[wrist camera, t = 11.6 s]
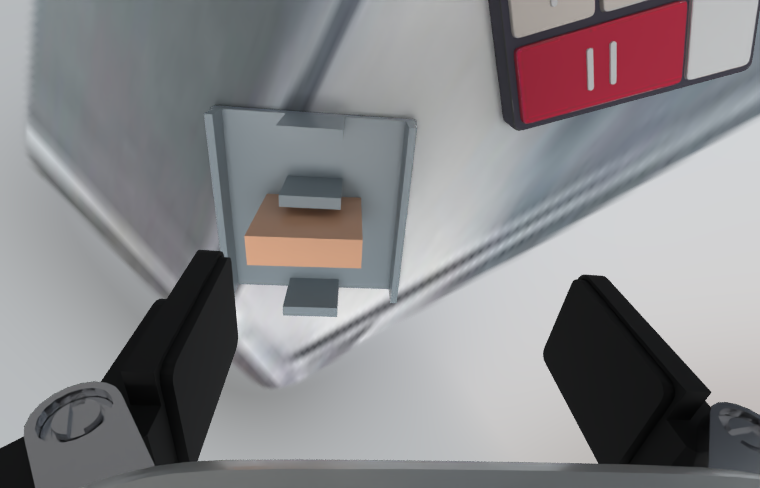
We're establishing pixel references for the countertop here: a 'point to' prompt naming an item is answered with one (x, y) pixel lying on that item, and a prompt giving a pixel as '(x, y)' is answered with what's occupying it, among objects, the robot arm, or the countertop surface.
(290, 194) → the rack
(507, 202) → the countertop surface
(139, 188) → the countertop surface
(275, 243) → the tile
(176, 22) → the countertop surface
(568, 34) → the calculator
